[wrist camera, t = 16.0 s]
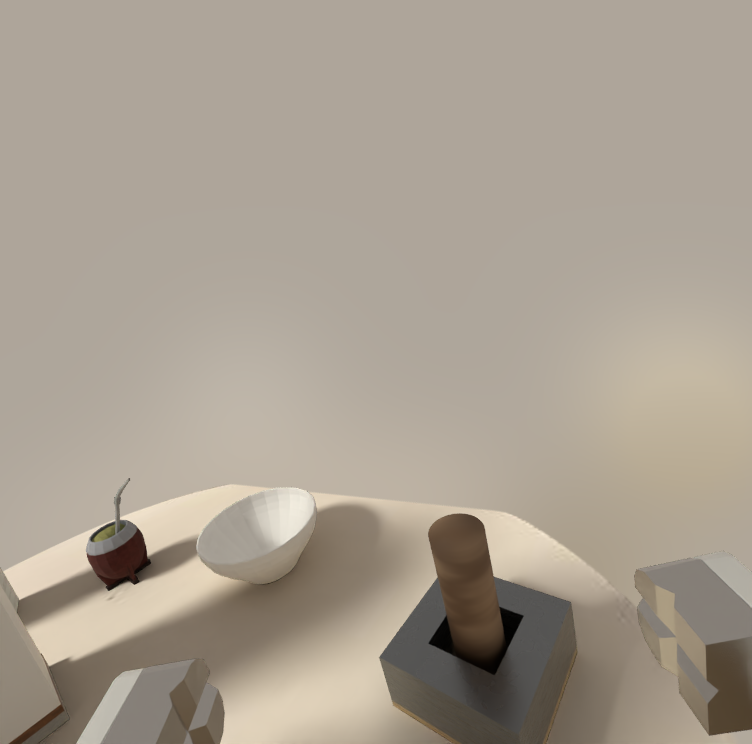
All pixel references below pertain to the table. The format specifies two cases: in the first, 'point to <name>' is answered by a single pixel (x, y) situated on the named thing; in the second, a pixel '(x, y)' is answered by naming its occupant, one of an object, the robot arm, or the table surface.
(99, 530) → the mate gourd
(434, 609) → the socket block
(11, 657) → the striped white pillar
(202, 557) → the bowl
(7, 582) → the supplement box
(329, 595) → the table surface
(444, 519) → the walnut pin
